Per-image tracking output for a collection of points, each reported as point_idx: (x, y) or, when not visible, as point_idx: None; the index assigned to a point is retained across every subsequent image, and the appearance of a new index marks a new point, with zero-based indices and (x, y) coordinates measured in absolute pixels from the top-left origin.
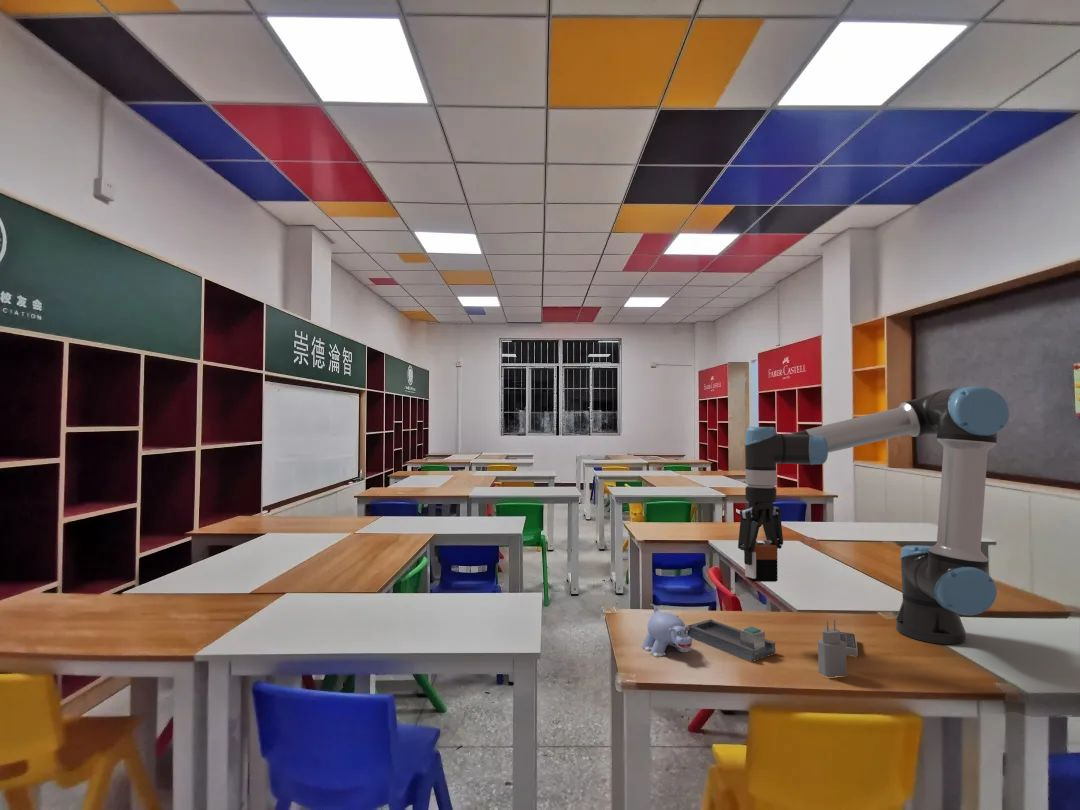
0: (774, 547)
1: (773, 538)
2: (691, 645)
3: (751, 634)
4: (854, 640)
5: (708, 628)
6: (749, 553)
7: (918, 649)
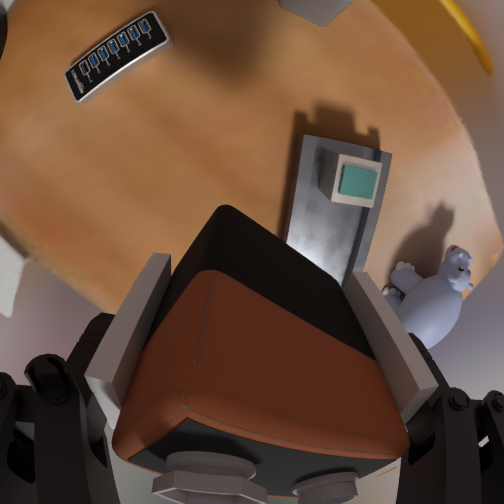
0: (233, 392)
1: (91, 492)
2: (451, 246)
3: (380, 171)
4: (103, 43)
5: None
6: (445, 388)
7: (41, 7)
